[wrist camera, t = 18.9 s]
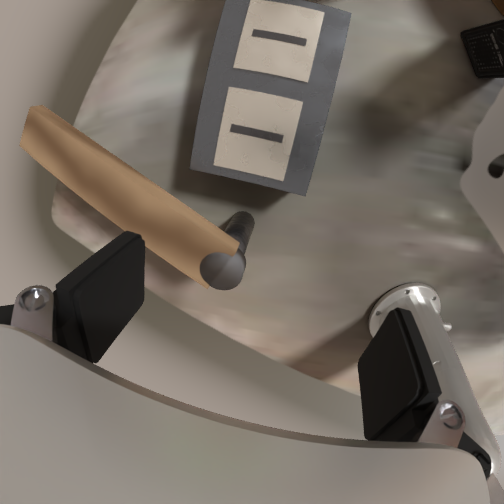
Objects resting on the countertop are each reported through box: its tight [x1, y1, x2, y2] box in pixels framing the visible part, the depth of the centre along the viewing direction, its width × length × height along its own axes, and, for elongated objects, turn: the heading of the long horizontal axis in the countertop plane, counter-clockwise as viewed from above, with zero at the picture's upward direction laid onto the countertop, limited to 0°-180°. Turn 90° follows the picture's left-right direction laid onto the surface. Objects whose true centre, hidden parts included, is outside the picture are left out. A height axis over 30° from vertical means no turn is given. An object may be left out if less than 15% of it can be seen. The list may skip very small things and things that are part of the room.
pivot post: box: [224, 211, 255, 254], centre depth 32 cm, size 3×3×10 cm
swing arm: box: [20, 105, 246, 290], centre depth 24 cm, size 5×30×2 cm, turn 55°
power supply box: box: [190, 0, 351, 196], centre depth 25 cm, size 12×20×6 cm, turn 168°
